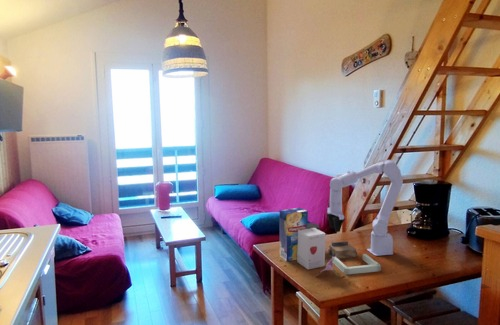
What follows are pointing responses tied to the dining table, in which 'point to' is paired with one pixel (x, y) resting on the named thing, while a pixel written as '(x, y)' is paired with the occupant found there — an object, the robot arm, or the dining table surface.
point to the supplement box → (311, 248)
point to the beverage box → (291, 231)
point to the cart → (342, 250)
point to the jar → (313, 226)
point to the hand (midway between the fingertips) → (335, 229)
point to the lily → (330, 265)
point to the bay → (346, 270)
